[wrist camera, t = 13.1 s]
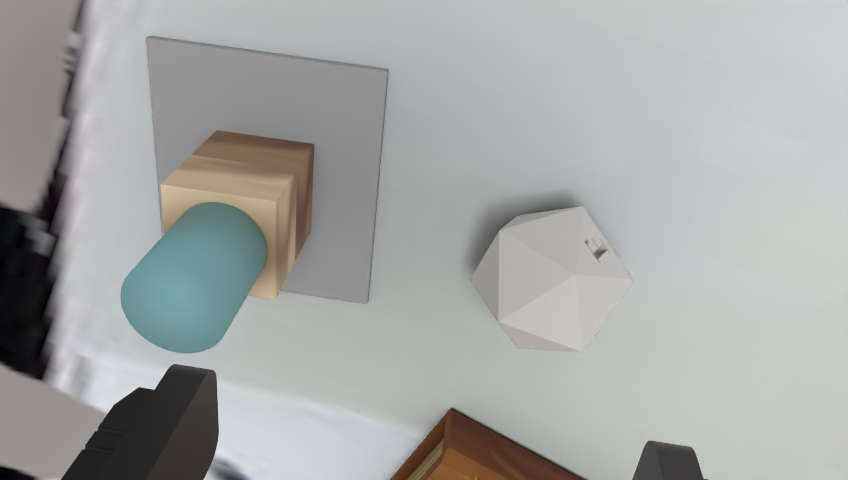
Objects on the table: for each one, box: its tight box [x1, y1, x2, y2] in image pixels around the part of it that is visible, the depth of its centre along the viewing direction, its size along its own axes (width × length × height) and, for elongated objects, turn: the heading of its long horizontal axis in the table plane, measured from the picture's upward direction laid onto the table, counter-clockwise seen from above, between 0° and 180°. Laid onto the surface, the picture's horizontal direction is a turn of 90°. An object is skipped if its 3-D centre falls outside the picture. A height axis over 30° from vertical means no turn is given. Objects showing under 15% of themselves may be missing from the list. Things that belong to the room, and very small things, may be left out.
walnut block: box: [191, 130, 314, 261], centre depth 43 cm, size 6×6×4 cm
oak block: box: [160, 155, 297, 300], centre depth 39 cm, size 6×6×4 cm
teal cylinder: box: [121, 202, 268, 353], centre depth 35 cm, size 5×5×6 cm
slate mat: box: [146, 36, 388, 304], centre depth 45 cm, size 16×14×1 cm
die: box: [470, 206, 634, 352], centre depth 42 cm, size 8×9×10 cm
